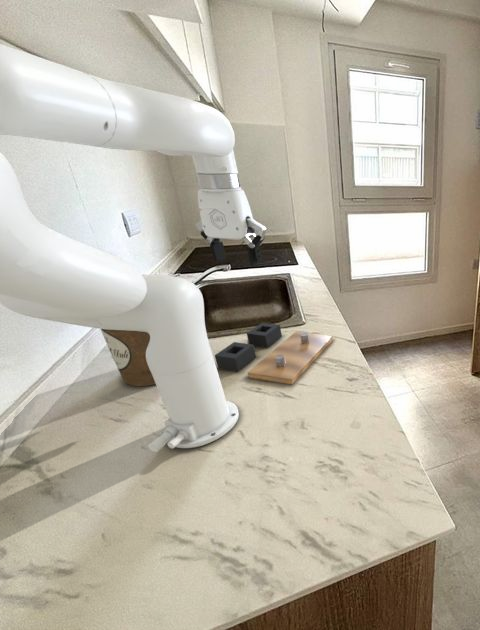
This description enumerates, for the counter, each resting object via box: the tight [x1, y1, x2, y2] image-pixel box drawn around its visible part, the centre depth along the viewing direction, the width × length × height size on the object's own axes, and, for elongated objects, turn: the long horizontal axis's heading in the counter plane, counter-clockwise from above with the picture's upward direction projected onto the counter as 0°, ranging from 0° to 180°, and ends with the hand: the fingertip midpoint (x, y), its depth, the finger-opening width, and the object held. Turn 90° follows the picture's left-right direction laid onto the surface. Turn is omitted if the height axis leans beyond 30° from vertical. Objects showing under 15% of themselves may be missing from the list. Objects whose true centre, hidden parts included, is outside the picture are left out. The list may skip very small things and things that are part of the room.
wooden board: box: [247, 331, 334, 385], centre depth 89 cm, size 22×12×4 cm, turn 168°
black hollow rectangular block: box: [214, 341, 257, 373], centre depth 87 cm, size 7×6×4 cm
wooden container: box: [100, 329, 156, 387], centre depth 80 cm, size 15×15×22 cm
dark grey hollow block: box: [246, 322, 283, 349], centre depth 97 cm, size 7×6×4 cm
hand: (238, 261), depth 77 cm, fingers open, 9 cm apart
